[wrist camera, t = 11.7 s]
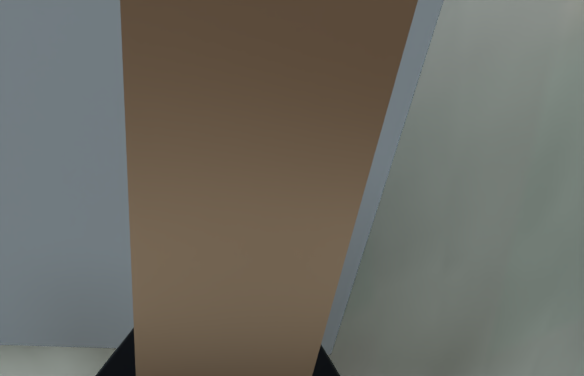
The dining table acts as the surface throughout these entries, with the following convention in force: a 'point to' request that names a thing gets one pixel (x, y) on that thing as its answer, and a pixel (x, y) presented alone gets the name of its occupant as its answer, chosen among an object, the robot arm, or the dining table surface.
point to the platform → (106, 173)
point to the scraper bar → (248, 171)
